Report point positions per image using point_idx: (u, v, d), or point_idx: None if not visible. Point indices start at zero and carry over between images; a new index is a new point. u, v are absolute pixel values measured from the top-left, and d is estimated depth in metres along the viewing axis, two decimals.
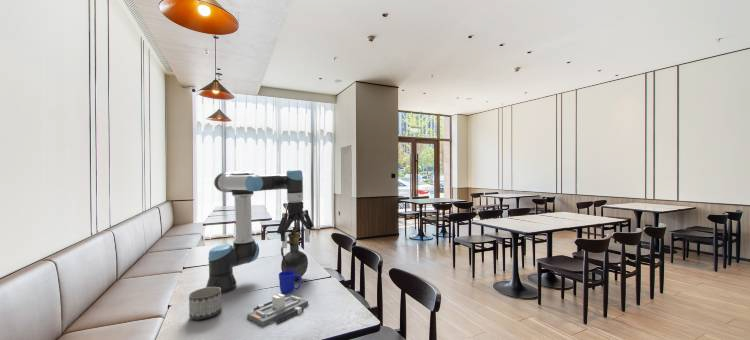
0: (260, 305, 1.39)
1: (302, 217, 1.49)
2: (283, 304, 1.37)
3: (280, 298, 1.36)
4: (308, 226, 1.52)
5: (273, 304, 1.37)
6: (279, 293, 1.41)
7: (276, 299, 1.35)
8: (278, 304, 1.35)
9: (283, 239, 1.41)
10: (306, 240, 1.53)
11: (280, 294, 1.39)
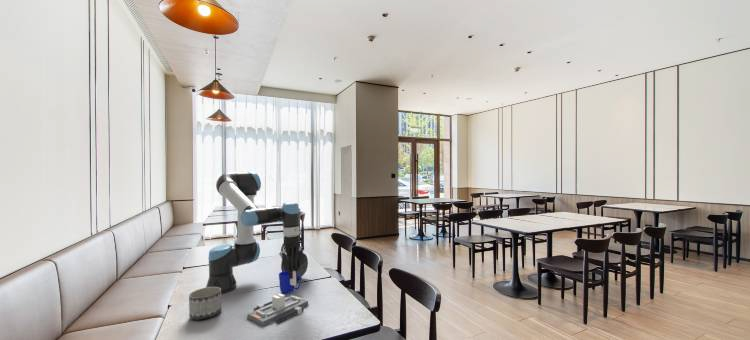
0: (260, 305, 1.39)
1: (296, 253, 1.44)
2: (283, 304, 1.37)
3: (280, 298, 1.36)
4: (296, 266, 1.44)
5: (273, 304, 1.37)
6: (279, 293, 1.41)
7: (276, 299, 1.35)
8: (278, 304, 1.35)
9: (291, 276, 1.42)
10: None
11: (280, 294, 1.39)
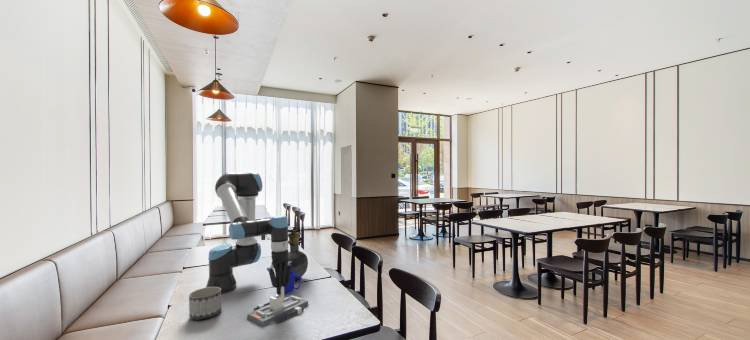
0: (260, 305, 1.39)
1: (285, 268, 1.39)
2: (280, 305, 1.36)
3: (277, 299, 1.35)
4: (284, 282, 1.39)
5: (270, 305, 1.36)
6: None
7: (273, 300, 1.34)
8: (275, 305, 1.34)
9: (279, 292, 1.37)
10: None
11: (277, 295, 1.38)
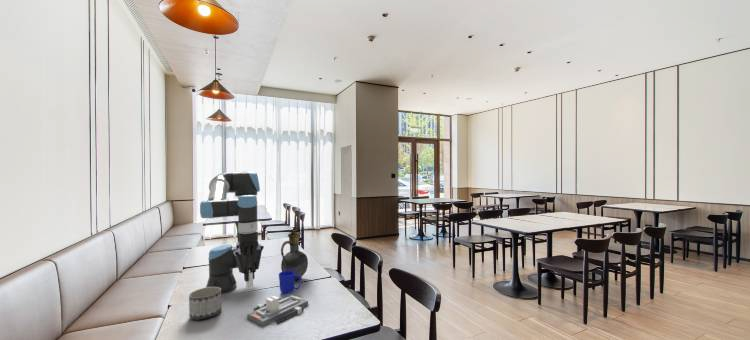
0: (260, 305, 1.39)
1: (253, 252, 1.27)
2: (277, 307, 1.35)
3: (274, 301, 1.34)
4: (253, 267, 1.27)
5: (267, 307, 1.34)
6: None
7: (270, 302, 1.33)
8: (272, 306, 1.33)
9: (247, 279, 1.25)
10: None
11: (274, 296, 1.37)
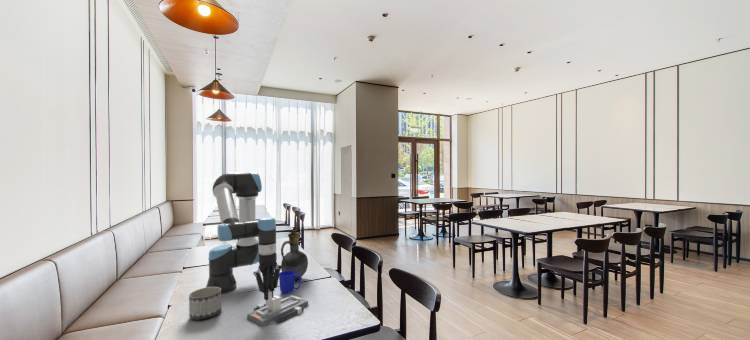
0: (260, 305, 1.39)
1: (272, 272, 1.34)
2: (279, 306, 1.36)
3: (275, 300, 1.34)
4: (272, 286, 1.34)
5: None
6: (275, 295, 1.39)
7: None
8: (273, 306, 1.34)
9: (266, 297, 1.32)
10: None
11: (276, 296, 1.37)
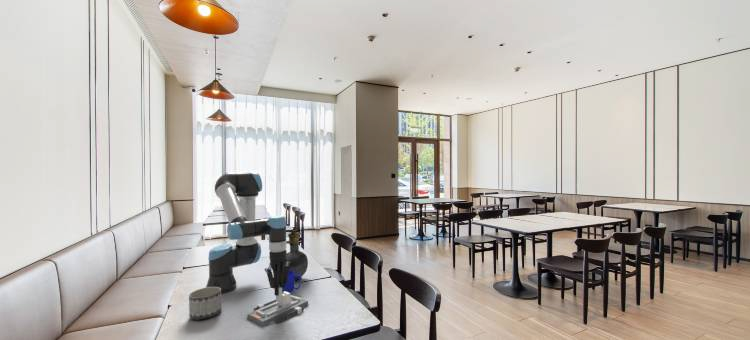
0: (260, 305, 1.39)
1: (283, 268, 1.38)
2: (288, 302, 1.40)
3: (286, 296, 1.39)
4: (282, 283, 1.38)
5: None
6: (284, 291, 1.43)
7: (282, 297, 1.38)
8: (284, 301, 1.38)
9: (277, 293, 1.37)
10: None
11: (285, 292, 1.42)
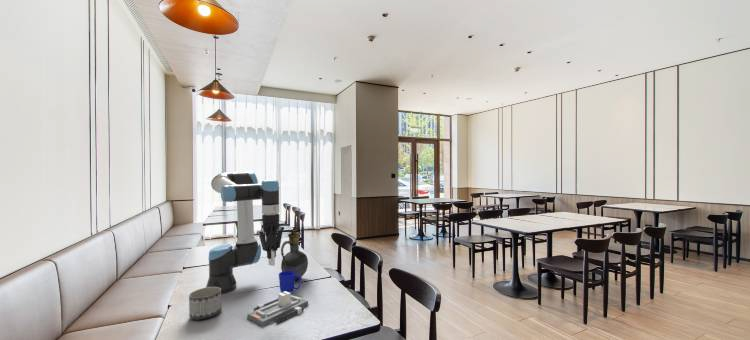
0: (260, 305, 1.39)
1: (275, 232, 1.38)
2: (289, 301, 1.40)
3: (286, 296, 1.39)
4: (275, 246, 1.38)
5: (279, 301, 1.39)
6: (285, 291, 1.43)
7: (282, 297, 1.38)
8: (284, 301, 1.38)
9: (269, 256, 1.37)
10: None
11: (286, 292, 1.42)
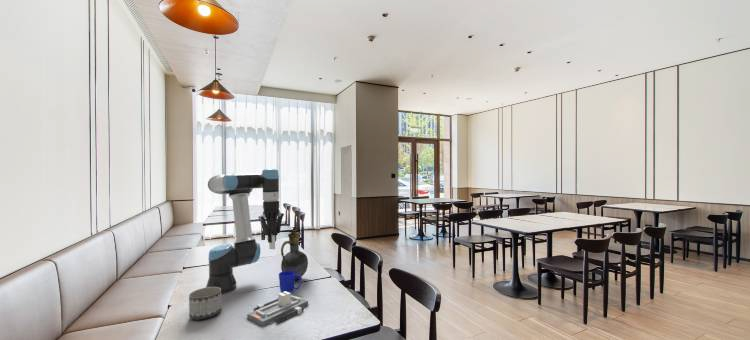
0: (260, 305, 1.39)
1: (276, 218, 1.47)
2: (289, 301, 1.40)
3: (286, 296, 1.39)
4: (275, 231, 1.47)
5: (279, 301, 1.39)
6: (285, 291, 1.43)
7: (282, 297, 1.38)
8: (284, 301, 1.38)
9: (270, 240, 1.46)
10: None
11: (286, 292, 1.42)
